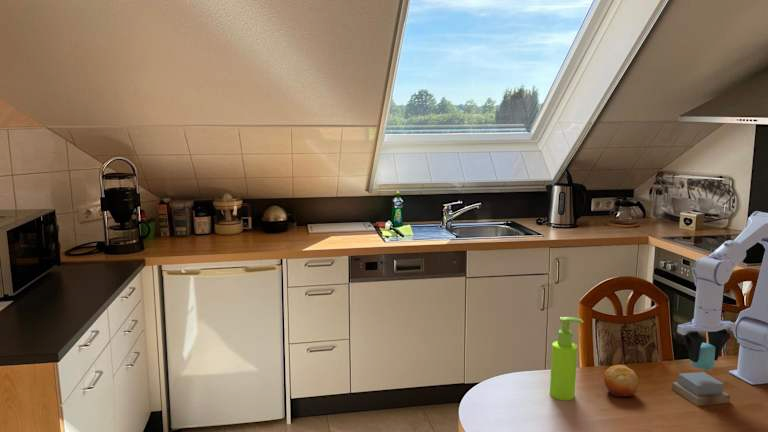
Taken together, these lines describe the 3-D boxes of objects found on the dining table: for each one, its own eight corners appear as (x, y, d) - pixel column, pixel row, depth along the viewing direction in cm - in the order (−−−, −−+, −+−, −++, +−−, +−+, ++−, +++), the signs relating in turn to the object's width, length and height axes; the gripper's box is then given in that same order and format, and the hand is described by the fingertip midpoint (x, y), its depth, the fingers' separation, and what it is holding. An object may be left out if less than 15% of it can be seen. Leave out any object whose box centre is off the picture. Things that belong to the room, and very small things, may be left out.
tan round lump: (629, 378, 153) (636, 360, 148) (636, 405, 147) (644, 387, 142) (597, 377, 154) (603, 358, 149) (603, 404, 148) (609, 385, 143)
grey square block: (702, 381, 150) (703, 371, 150) (722, 393, 144) (723, 383, 143) (677, 383, 149) (678, 373, 149) (696, 395, 143) (697, 385, 142)
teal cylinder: (703, 360, 149) (705, 341, 148) (718, 368, 144) (720, 348, 143) (686, 362, 148) (687, 343, 147) (700, 370, 143) (702, 350, 142)
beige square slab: (702, 388, 152) (703, 379, 152) (729, 404, 143) (730, 395, 143) (671, 391, 150) (672, 382, 150) (696, 408, 142) (697, 398, 141)
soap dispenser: (580, 401, 143) (584, 323, 140) (550, 399, 145) (554, 321, 141) (577, 391, 149) (581, 315, 146) (549, 388, 150) (552, 313, 147)
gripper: (721, 300, 148) (716, 351, 151) (670, 303, 145) (666, 355, 148) (743, 308, 142) (738, 362, 144) (690, 312, 139) (686, 367, 141)
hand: (703, 359), depth 145 cm, fingers closed on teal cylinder, 5 cm apart
